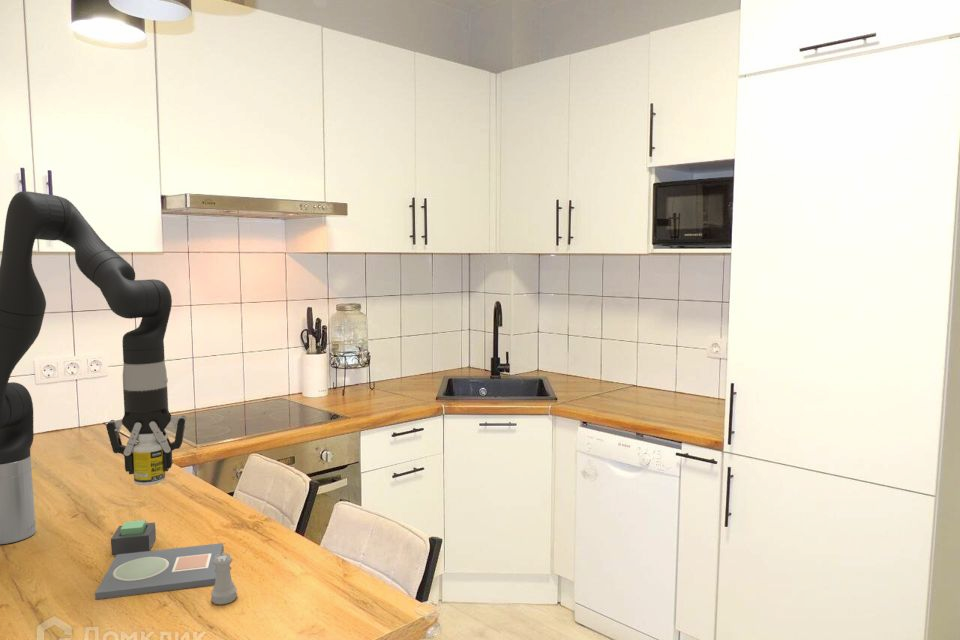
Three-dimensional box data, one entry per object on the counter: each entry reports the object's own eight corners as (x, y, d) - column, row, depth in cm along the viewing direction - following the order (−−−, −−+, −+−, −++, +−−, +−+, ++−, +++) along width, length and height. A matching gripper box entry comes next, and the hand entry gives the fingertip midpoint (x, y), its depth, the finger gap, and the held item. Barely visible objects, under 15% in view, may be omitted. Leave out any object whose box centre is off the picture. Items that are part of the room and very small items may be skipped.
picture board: (95, 599, 121) (94, 592, 121) (117, 560, 136) (116, 553, 136) (215, 584, 126) (215, 577, 126) (223, 548, 142) (223, 542, 142)
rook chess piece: (215, 593, 123) (213, 550, 122) (240, 592, 124) (238, 550, 123) (207, 606, 119) (205, 562, 118) (233, 605, 119) (231, 561, 118)
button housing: (111, 555, 138) (110, 539, 138) (120, 541, 145) (119, 525, 145) (149, 551, 140) (148, 535, 140) (155, 538, 147) (155, 522, 147)
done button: (121, 540, 140) (120, 529, 140) (125, 532, 144) (124, 521, 144) (142, 538, 141) (141, 527, 141) (146, 530, 145) (145, 519, 145)
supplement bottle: (153, 487, 128) (151, 436, 127) (127, 485, 129) (125, 434, 128) (171, 477, 134) (169, 428, 133) (146, 476, 135) (144, 427, 134)
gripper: (98, 391, 124) (103, 481, 126) (183, 386, 128) (187, 474, 130) (107, 383, 131) (112, 469, 133) (188, 379, 135) (192, 462, 137)
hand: (149, 471), depth 131 cm, fingers closed on supplement bottle, 5 cm apart
